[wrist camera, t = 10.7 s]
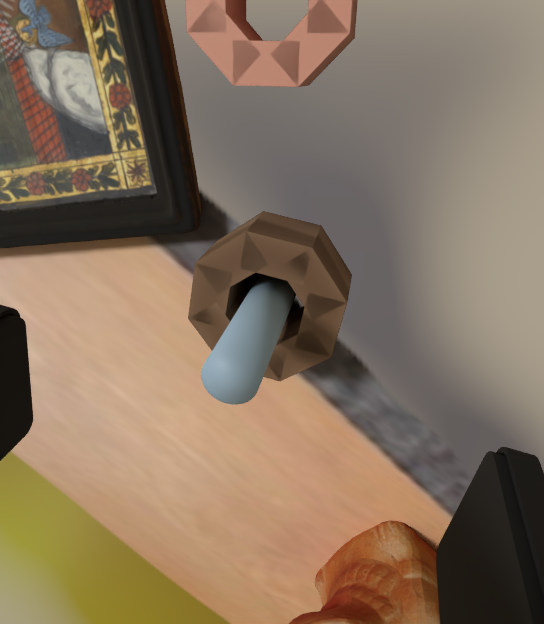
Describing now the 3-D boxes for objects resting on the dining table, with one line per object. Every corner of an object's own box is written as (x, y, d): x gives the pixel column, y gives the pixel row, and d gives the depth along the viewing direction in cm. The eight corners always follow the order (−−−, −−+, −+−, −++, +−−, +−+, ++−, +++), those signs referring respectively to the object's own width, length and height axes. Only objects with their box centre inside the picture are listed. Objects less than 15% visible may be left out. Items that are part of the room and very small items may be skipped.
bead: (362, 235, 31) (359, 259, 27) (327, 357, 36) (320, 392, 32) (223, 201, 32) (200, 219, 28) (205, 323, 36) (183, 354, 32)
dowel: (302, 269, 33) (263, 362, 23) (294, 306, 34) (253, 411, 24) (262, 259, 33) (205, 346, 23) (255, 296, 35) (197, 395, 24)
